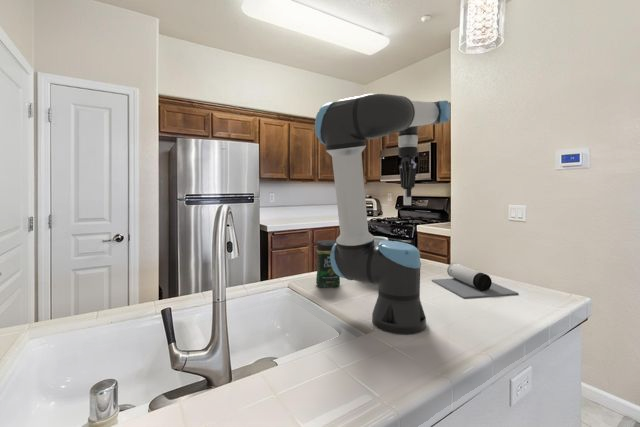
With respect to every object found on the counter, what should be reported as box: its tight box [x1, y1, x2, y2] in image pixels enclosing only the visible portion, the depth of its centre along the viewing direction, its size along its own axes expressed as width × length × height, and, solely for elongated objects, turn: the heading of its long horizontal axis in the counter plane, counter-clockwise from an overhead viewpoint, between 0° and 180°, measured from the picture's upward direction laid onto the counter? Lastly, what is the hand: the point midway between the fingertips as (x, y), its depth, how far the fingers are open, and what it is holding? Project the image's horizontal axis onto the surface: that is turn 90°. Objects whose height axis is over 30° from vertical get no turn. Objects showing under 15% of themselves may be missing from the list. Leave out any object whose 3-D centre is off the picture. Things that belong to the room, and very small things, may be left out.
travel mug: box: [446, 262, 493, 291], centre depth 127 cm, size 6×7×20 cm
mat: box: [431, 277, 519, 299], centre depth 124 cm, size 22×22×1 cm
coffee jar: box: [315, 239, 341, 288], centre depth 128 cm, size 10×8×19 cm
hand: (407, 204), depth 130 cm, fingers closed
